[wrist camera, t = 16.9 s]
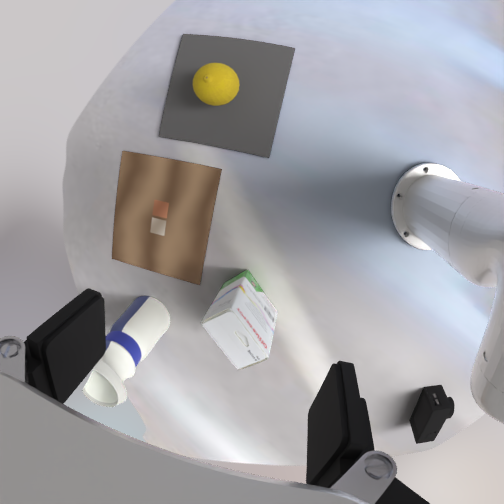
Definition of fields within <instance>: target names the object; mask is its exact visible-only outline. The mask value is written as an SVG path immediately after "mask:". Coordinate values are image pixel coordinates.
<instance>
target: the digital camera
mask: <svg viewBox="0 0 504 504" xmlns="http://www.w3.org/2000/svg"><path fill="white" fill-rule="evenodd" d="M427 392H428V393H427ZM453 413H454V401H453V399H452V398H451V397H447V396H446V394H445V391H444V389H443V387H442V385H437V386H428V387H424V388H423V390H422V393H421V395H420V398H419V400H418V402H417V405H416V407H415V409H414V412H413V414H412V416H411V418H410V424H411V427H412V431H413V434H414V438H415V441H416V443H423V442H429V441H434V440H435V438H436V436H437V435H438V433H439V431H440V429H441V427H442V426H443V424H444V422H445V420H446V419H447V418H451V417H452V415H453Z"/></svg>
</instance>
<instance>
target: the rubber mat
mask: <svg viewBox="0 0 504 504" xmlns="http://www.w3.org/2000/svg"><path fill="white" fill-rule="evenodd" d="M294 51H295V48H292V47H287V46H282V45H276V44H271V43H265V42H259V41H252V40H245V39H237V38H229V37H219V36H208V35H193V34H183V37H182V40H181V44H180V47H179V51H178V54H177V58H176V62H175V66H174V70H173V74H172V78H171V82H170V86H169V90H168V94H167V99H166V103H165V108H164V112H163V117H162V122H161V127H160V132H159V137H165V138H171V139H177V140H183V141H189V142H195V143H200V144H206V145H211V146H216V147H221V148H226V149H231V150H236V151H240V152H245V153H250V154H254V155H258V156H263V157H267V158H269V156H270V152H271V147H272V143H273V139H274V135H275V131H276V126H277V122H278V118H279V114H280V109H281V105H282V101H283V97H284V93H285V89H286V84H287V80H288V76H289V72H290V68H291V63H292V59H293V55H294ZM209 63H222V64H225V65H227V66H229V67H230V68H232V69H233V70H234V71H235V73H236V74H237V76H238V78H239V84H240V86H239V91H238V93H237V95H236V96H235V98H234V99H233V100H232V101H230V102H229V103H227V104H225V105H220V106H213V105H209V104H206V103H204V102H203V101H201V100H200V99H199V98H198V97H197V96H196V94H195V92H194V89H193V78H194V75H195V74H196V72H197V71H198V70H199V69H200V68H201V67H202V66H204V65H206V64H209Z"/></svg>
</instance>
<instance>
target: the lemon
mask: <svg viewBox="0 0 504 504" xmlns="http://www.w3.org/2000/svg"><path fill="white" fill-rule="evenodd" d="M239 86H240V84H239V78H238V76H237V74H236V73H235V71H234V70H233V69H232V68H230V67H229V66H227V65H225V64H222V63H209V64H206V65H204V66H202V67H201V68H200V69H199V70H198V71H197V72H196V74H195V75H194V78H193V89H194V92H195V94H196V96H197V97H198V98H199V99H200V100H201V101H203V102H204V103H206V104H209V105H213V106H220V105H225V104H227V103H229V102H230V101H232V100H233V99H234V98H235V96H236V95H237V93H238V91H239Z"/></svg>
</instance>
